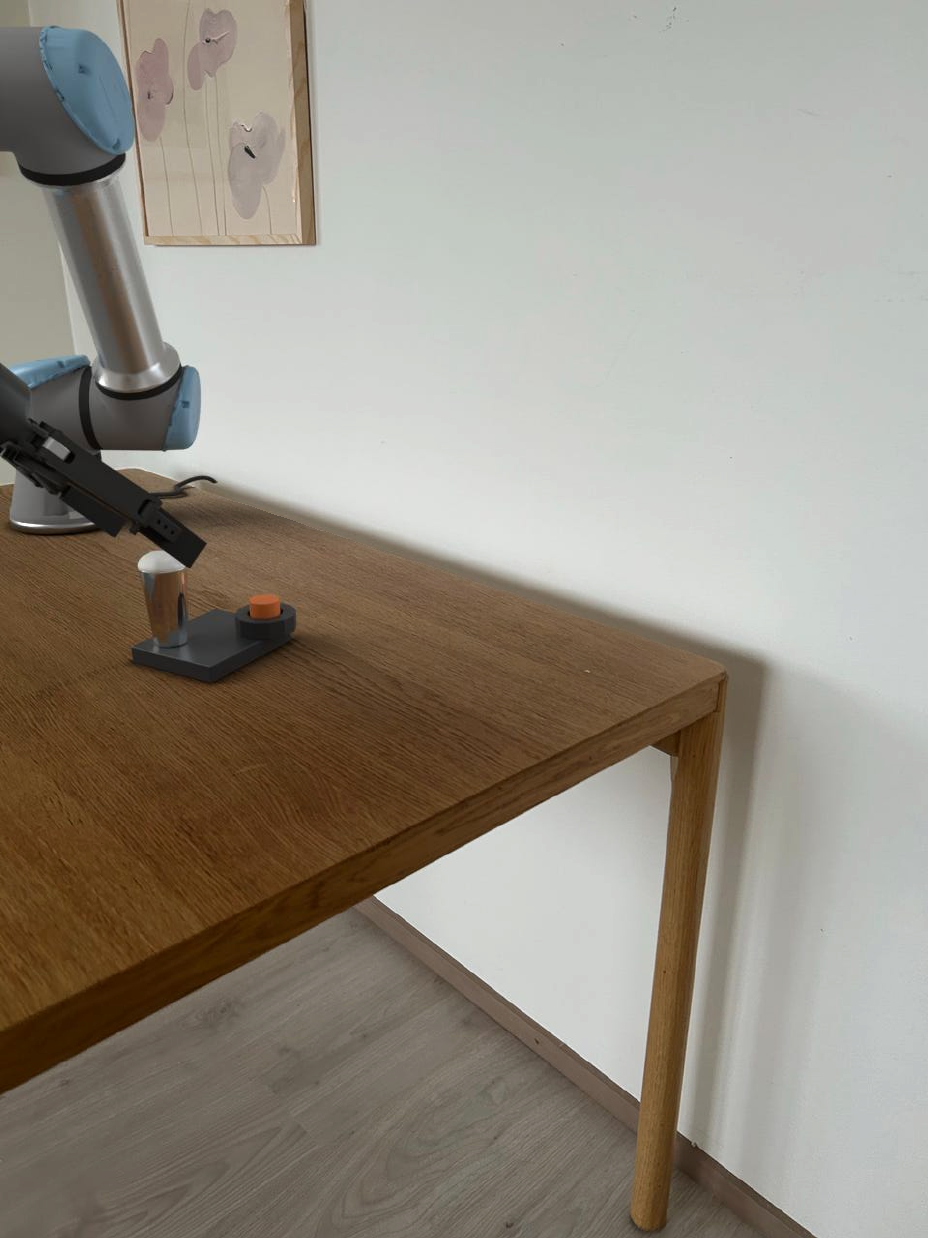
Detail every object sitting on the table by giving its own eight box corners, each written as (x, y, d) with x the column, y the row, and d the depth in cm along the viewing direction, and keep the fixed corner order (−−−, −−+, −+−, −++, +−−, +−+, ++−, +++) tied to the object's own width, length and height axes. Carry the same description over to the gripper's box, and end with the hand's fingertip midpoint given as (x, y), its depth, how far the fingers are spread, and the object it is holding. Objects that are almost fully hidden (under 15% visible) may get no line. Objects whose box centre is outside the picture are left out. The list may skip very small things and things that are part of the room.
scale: (222, 620, 103) (220, 589, 102) (308, 639, 98) (306, 608, 97) (132, 662, 93) (128, 629, 92) (223, 686, 88) (220, 651, 87)
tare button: (263, 608, 98) (262, 592, 97) (286, 613, 97) (285, 597, 96) (244, 617, 96) (242, 601, 95) (267, 622, 94) (266, 606, 94)
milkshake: (190, 653, 91) (179, 552, 87) (138, 648, 92) (125, 548, 88) (211, 635, 95) (201, 538, 91) (161, 631, 96) (150, 535, 92)
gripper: (-125, 411, 81) (72, 545, 96) (-5, 454, 65) (208, 606, 80) (-71, 342, 82) (114, 484, 98) (59, 367, 66) (256, 532, 82)
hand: (157, 539), depth 89 cm, fingers open, 13 cm apart
